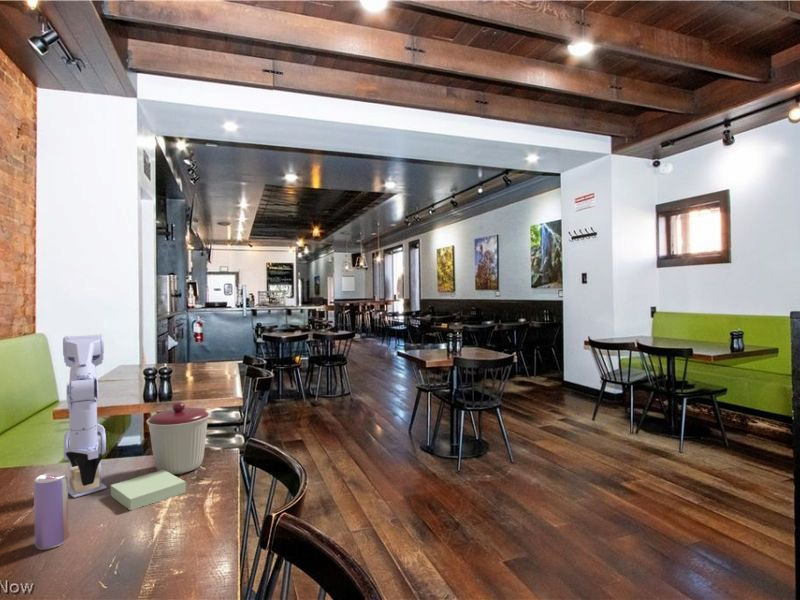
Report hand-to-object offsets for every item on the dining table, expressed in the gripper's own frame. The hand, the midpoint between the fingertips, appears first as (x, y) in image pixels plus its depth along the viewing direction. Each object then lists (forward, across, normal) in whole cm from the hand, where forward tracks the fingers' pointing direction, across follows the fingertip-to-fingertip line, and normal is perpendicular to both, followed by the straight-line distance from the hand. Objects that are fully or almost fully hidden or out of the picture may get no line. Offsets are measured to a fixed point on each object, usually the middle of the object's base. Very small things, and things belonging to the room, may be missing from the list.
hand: (84, 481), depth 114 cm
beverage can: (+9, +10, -9) cm, 16 cm away
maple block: (+2, 0, 0) cm, 2 cm away
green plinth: (+8, 0, +15) cm, 17 cm away
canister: (+9, -12, +29) cm, 32 cm away
